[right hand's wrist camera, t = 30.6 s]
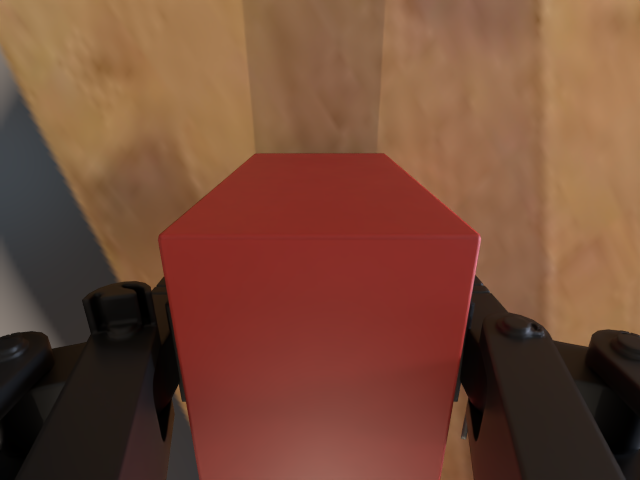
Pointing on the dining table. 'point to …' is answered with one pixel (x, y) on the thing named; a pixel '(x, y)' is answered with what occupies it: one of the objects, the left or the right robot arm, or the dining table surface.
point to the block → (319, 319)
